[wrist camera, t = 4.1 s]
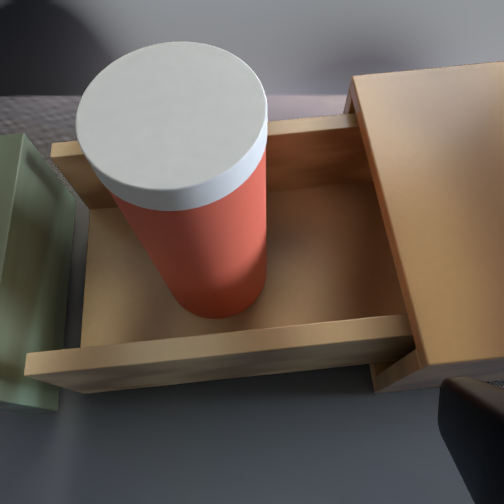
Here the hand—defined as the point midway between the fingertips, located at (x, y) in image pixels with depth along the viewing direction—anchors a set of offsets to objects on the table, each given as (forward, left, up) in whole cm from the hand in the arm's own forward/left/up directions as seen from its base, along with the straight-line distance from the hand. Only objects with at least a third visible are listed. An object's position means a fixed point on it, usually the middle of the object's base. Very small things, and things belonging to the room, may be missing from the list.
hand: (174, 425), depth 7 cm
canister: (-1, +7, -12) cm, 14 cm away
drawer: (-1, +7, -13) cm, 15 cm away
